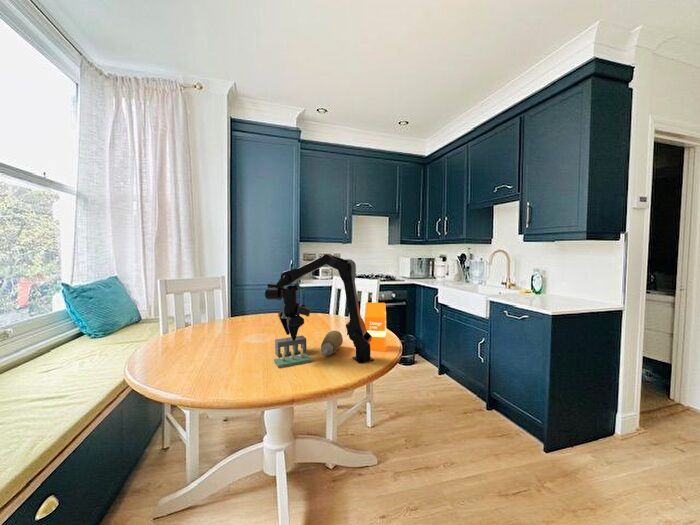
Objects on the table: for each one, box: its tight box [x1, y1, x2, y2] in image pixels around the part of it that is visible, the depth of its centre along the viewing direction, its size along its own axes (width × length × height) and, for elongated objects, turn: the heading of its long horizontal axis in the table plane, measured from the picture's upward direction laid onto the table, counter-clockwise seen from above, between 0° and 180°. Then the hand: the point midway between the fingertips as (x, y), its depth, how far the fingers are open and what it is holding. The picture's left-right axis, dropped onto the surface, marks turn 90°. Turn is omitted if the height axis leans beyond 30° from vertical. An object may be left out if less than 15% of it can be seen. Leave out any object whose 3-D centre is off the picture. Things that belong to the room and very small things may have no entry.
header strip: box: [273, 347, 313, 369], centre depth 116 cm, size 13×7×4 cm, turn 117°
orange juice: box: [363, 302, 387, 352], centre depth 131 cm, size 8×9×20 cm
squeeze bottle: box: [320, 330, 344, 356], centre depth 125 cm, size 8×8×18 cm
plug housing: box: [274, 335, 308, 358], centre depth 126 cm, size 12×5×6 cm, turn 117°
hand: (290, 337), depth 125 cm, fingers open, 9 cm apart
